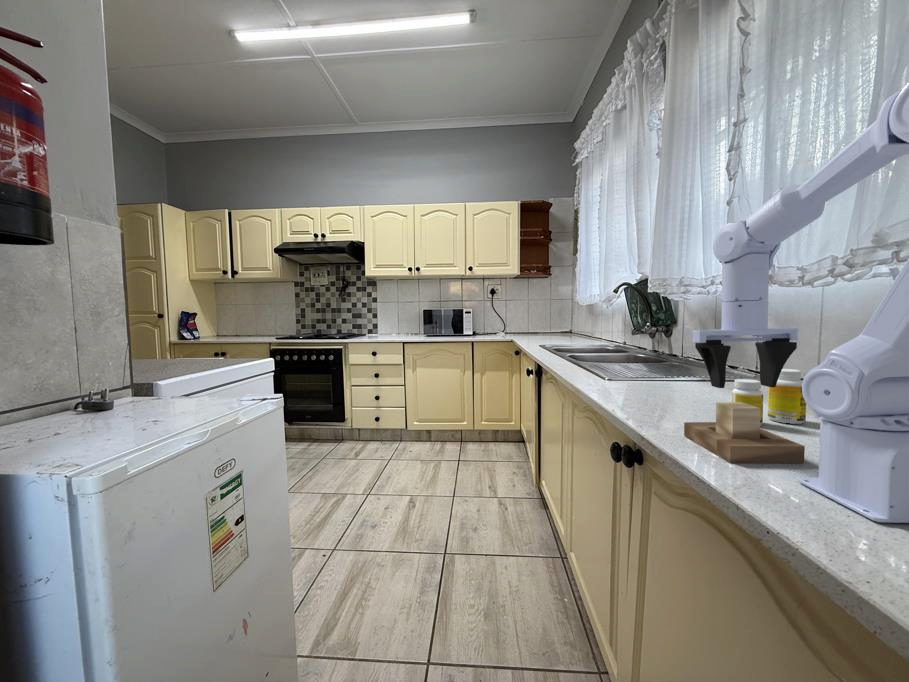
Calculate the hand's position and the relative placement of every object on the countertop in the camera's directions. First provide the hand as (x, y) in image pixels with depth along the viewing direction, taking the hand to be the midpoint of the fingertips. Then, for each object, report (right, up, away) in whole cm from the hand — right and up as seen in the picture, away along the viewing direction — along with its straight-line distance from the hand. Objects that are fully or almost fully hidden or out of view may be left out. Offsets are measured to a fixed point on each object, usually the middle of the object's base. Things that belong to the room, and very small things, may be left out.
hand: (742, 386), depth 57 cm
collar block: (-1, -10, 0) cm, 10 cm away
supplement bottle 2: (+20, -9, +14) cm, 25 cm away
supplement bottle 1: (+12, -9, +13) cm, 20 cm away
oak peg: (-1, -10, +1) cm, 10 cm away
